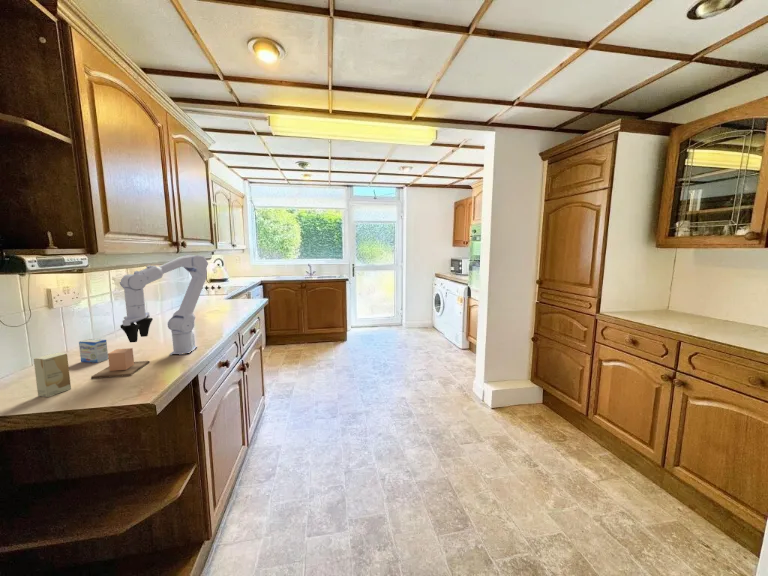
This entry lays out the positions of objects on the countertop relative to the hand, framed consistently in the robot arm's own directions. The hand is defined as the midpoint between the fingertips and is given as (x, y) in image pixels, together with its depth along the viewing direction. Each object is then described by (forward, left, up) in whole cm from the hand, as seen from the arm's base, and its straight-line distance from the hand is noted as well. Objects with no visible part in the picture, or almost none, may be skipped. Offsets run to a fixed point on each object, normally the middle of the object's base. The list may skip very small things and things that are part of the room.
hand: (139, 339), depth 119 cm
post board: (+5, -4, -10) cm, 12 cm away
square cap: (+5, -4, -9) cm, 11 cm away
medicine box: (-9, -21, -11) cm, 25 cm away
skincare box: (+21, -14, -11) cm, 27 cm away
